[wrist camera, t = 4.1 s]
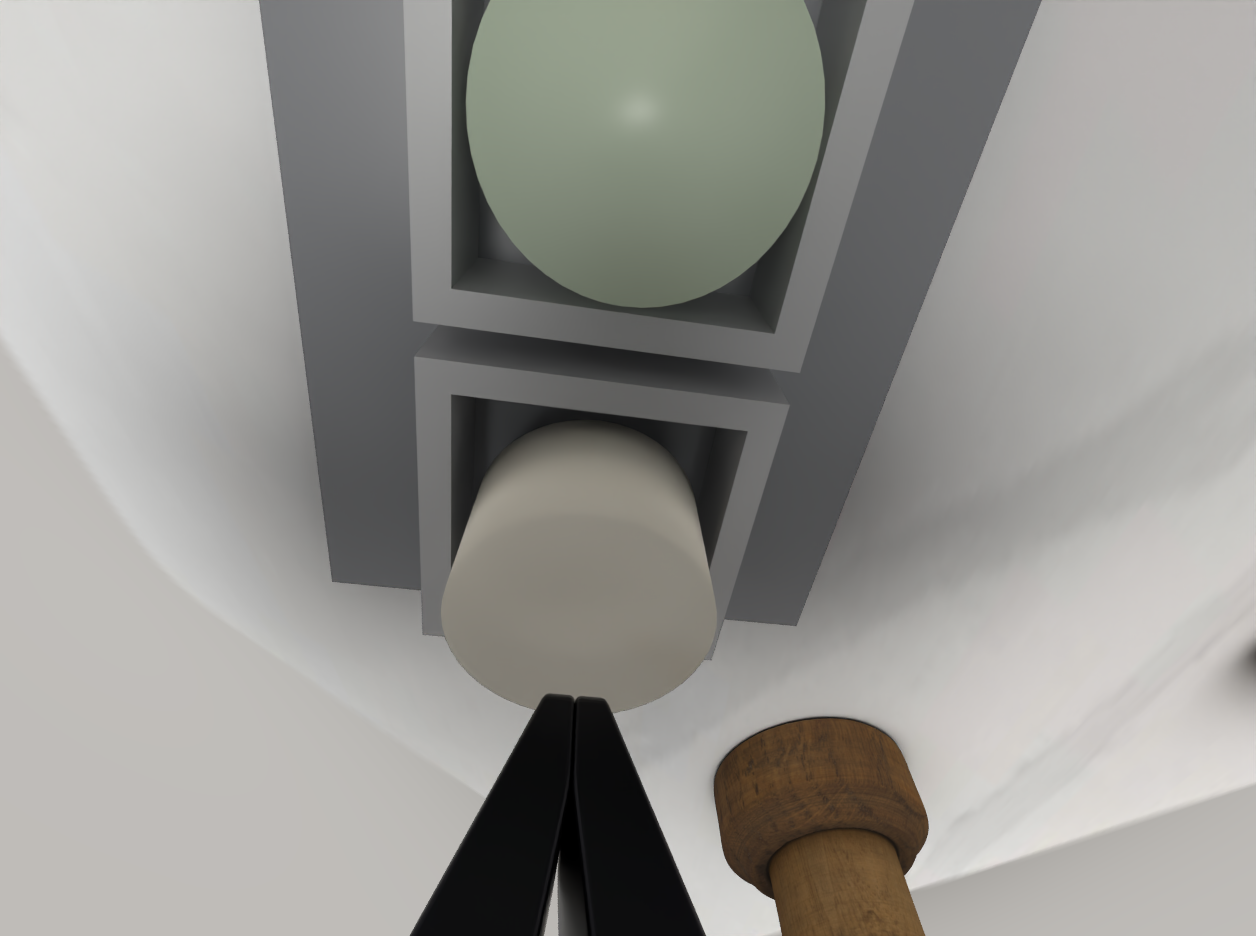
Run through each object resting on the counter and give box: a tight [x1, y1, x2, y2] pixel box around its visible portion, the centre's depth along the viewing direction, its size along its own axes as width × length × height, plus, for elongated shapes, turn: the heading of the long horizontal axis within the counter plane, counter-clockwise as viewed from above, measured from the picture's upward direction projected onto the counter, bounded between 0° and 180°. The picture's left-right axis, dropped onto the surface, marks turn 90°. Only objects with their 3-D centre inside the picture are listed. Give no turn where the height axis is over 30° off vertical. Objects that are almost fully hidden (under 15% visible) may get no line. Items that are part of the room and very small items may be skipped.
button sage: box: [466, 0, 825, 308], centre depth 9 cm, size 4×4×3 cm
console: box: [259, 0, 1041, 660], centre depth 10 cm, size 12×22×3 cm, turn 172°
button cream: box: [441, 420, 717, 713], centre depth 11 cm, size 4×4×3 cm
